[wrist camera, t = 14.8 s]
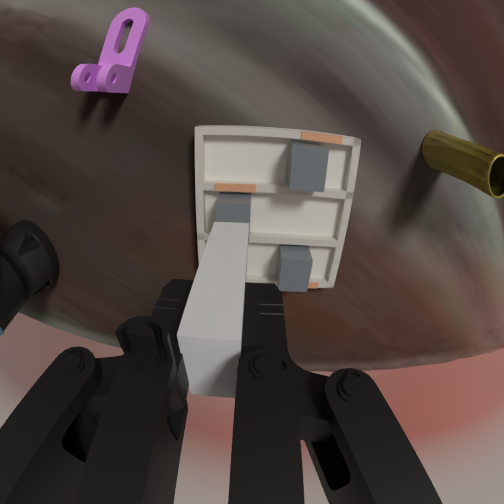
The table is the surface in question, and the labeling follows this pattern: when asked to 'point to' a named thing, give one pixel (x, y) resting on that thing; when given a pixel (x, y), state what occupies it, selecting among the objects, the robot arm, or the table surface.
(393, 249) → the table surface
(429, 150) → the vase
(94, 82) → the bracket
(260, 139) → the switch board
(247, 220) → the slider
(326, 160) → the slider
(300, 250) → the slider
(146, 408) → the robot arm
